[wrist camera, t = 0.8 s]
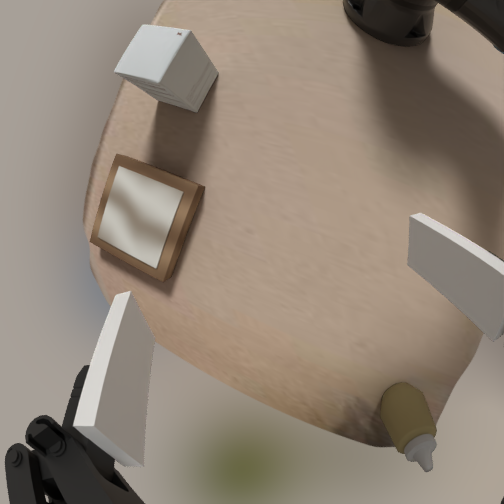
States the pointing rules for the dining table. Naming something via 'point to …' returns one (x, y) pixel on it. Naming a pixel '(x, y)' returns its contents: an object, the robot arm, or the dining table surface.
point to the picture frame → (145, 215)
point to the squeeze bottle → (409, 423)
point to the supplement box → (168, 66)
